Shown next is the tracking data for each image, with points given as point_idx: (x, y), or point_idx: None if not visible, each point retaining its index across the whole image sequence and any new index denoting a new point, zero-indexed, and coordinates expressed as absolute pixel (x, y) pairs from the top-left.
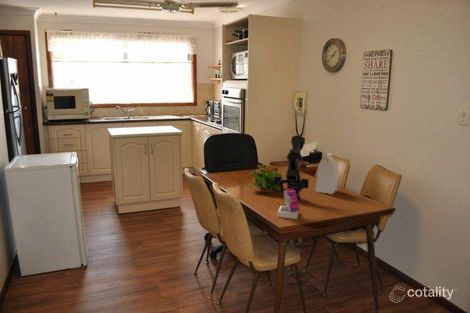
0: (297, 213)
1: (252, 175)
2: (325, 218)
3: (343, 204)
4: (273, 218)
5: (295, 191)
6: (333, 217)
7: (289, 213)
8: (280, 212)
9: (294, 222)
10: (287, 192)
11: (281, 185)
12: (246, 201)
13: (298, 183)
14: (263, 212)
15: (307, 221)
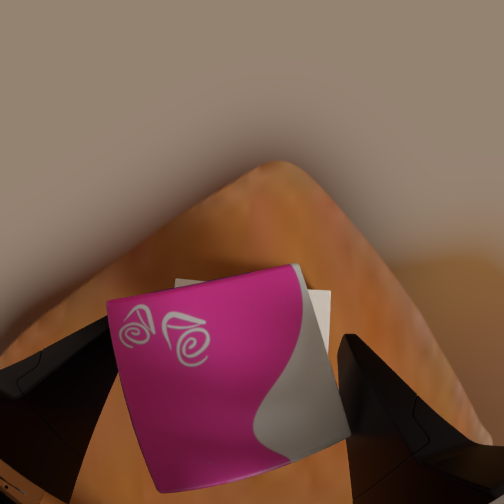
0: (175, 285)
1: None
2: (41, 331)
3: None
4: (343, 262)
5: (112, 300)
6: (14, 349)
7: None
8: (309, 290)
9: (207, 227)
10: (269, 285)
11: (439, 439)
12: None
13: (12, 498)
14: (414, 354)
15: (129, 263)
